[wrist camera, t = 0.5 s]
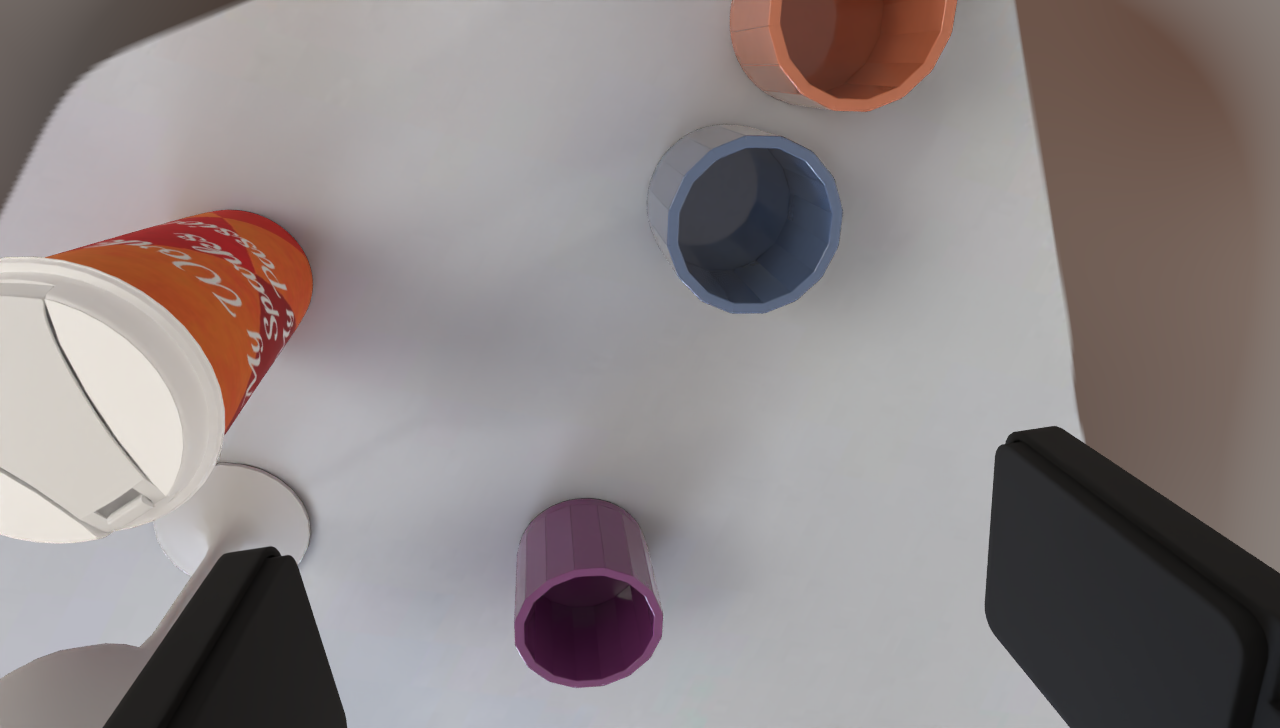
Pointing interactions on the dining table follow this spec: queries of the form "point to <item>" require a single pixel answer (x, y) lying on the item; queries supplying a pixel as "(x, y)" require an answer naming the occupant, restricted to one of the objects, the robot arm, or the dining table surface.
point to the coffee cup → (135, 367)
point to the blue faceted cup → (744, 217)
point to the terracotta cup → (839, 48)
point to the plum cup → (585, 595)
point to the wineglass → (193, 540)
